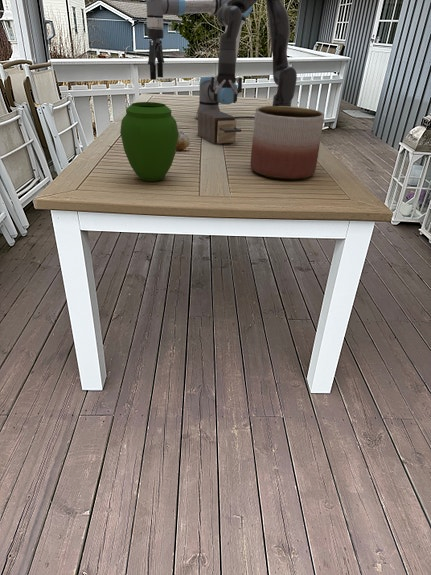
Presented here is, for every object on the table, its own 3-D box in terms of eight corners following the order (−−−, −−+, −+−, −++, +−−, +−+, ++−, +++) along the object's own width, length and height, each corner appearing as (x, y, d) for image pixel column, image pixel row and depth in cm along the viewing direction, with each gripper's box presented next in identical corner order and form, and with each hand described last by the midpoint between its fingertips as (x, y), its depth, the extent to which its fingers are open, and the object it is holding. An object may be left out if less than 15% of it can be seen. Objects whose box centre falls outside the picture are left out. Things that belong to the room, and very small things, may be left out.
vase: (131, 189, 135) (125, 110, 122) (118, 172, 150) (112, 100, 137) (186, 184, 142) (187, 109, 129) (169, 168, 157) (167, 99, 144)
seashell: (189, 148, 186) (189, 129, 181) (190, 151, 181) (190, 132, 177) (168, 148, 184) (168, 129, 180) (169, 151, 180) (168, 132, 175)
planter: (324, 181, 152) (336, 118, 140) (258, 182, 148) (265, 117, 136) (301, 162, 173) (310, 106, 162) (243, 162, 169) (248, 104, 157)
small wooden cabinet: (233, 142, 199) (235, 117, 193) (214, 144, 195) (215, 117, 189) (215, 134, 215) (216, 109, 208) (197, 135, 211) (198, 110, 204)
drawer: (241, 145, 192) (242, 123, 187) (223, 146, 188) (224, 123, 183) (218, 133, 210) (219, 113, 205) (202, 134, 207) (202, 114, 202)
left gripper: (154, 28, 205) (156, 75, 217) (140, 28, 184) (142, 80, 196) (169, 29, 205) (169, 76, 216) (156, 28, 184) (157, 81, 195)
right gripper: (240, 61, 180) (238, 101, 189) (209, 60, 177) (207, 101, 186) (245, 63, 174) (242, 104, 183) (212, 61, 171) (211, 103, 180)
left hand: (156, 78), depth 206 cm, fingers open, 13 cm apart
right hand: (225, 102), depth 184 cm, fingers open, 8 cm apart
